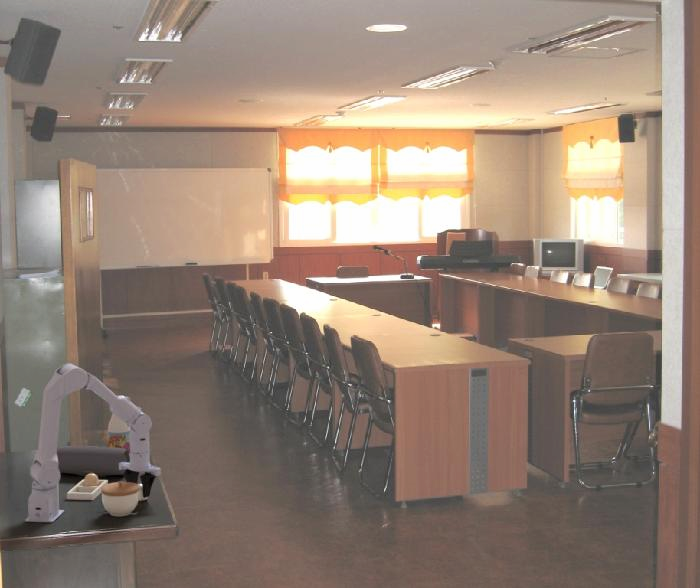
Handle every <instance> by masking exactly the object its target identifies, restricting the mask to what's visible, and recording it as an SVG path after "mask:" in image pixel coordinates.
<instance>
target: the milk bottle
mask: <svg viewBox="0 0 700 588" xmlns="http://www.w3.org/2000/svg"><path fill="white" fill-rule="evenodd" d="M111 413H112V414H111V417H110V420H109V422H108V426H107V447H114V448H123V449H128V451H129V455H130V429H131V428H130V427H128V426H127V424H126V423H125V422H124V421H122V420H121V419H120V418H119V417H118V416H116V415H115V414H114V413H113V412H111Z"/></svg>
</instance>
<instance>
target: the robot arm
mask: <svg viewBox="0 0 700 588" xmlns="http://www.w3.org/2000/svg"><path fill="white" fill-rule="evenodd" d="M82 389H84V390H86V391H87V390H88V391H90V390H91V391H92V392H93V393H95V394H96V395H97V396H99V397H100V398H102V400H104V401H105V402H107V403H108V404H109V411H110V412H111V413H114V414H115V415H116V416H118V417H119V418H120V419H121V420H122V421H124V422H125V423H126V424H127V426H128V427H130V462H121V463H119V470H123V469H124V470H126V471H125V472H124V473H123V475H122V477H123V478H124V480H125V482H132V483H136V484H139V483H138V482H139V478H140V481H141V484H142V487H143V497H144V498H146V497H147V498H148V497H150V496H151V495H150V493H151V490H152V486H153V484H154V482H155V480H156V478H157V477H158V476H160V475H162V468H161V467H158V466H154V465H152V464H151V463H150V431H151V429H152V427H153V422H152V419H151V417H150V416H149V415H148V414H146V413H144V412H143V411H142V410H143V409H142V408H141V407H140V406H136V405H135V404H134V403H133V402H132V401H131V397H129V396H126V395H125V396H124V395H116V394H115V393H114V392H113V391H112V390H111V389H110V388H108V386H106V385H105V383H103V382H102V381H101V380H100V379H98V377H96V376H95V375H94V374H92V373H89V372H88V371H86V370H85V369H83V368H81V367H78V366H77V365H75V364H73V363H65V364H62V365H61V366H60V367H59V366H58V368H57V369H55V370H54V373H53V376H52V377H51V378H50V380H49V381H48V383H47V385H46V386H45V387H44V388H43V394H42V404H41V415H40V426H39V435H38V436H39V437H38V446H37V447H38V448H37V452H36V453H35V455H34V460H33V462H32V464H31V466H30V468H29V475H30V477H31V478H32V479H33V481H32V483H31V494H30V495H29V496H28V499H27V511H28V512H27V515H28V516H27V518H26V519H24V520H25V521H24V522H31V523H32V522H34V523H53V522H55V520H56V519H58V518H59V517H60V516H62V514H64V513H65V510H64V509H60V497H59V496H60V492H59V486H60V485H59V482H60V481H61V475H62V474H61V472H60V471H59V469H58V458H57V448H58V442H59V432H60V419H61V411H62V410H61V409H62V401H63V399H64V398H66V397H67V396H68V395H69V394H71V393H74V392H77V391H80V390H82ZM140 473H143V474H141V475H140Z"/></svg>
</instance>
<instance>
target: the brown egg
mask: <svg viewBox="0 0 700 588" xmlns="http://www.w3.org/2000/svg"><path fill="white" fill-rule="evenodd" d="M98 480H99V476H97V475H96V474H93V473H90V474H88V475H86V476H84V486H98Z"/></svg>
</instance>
